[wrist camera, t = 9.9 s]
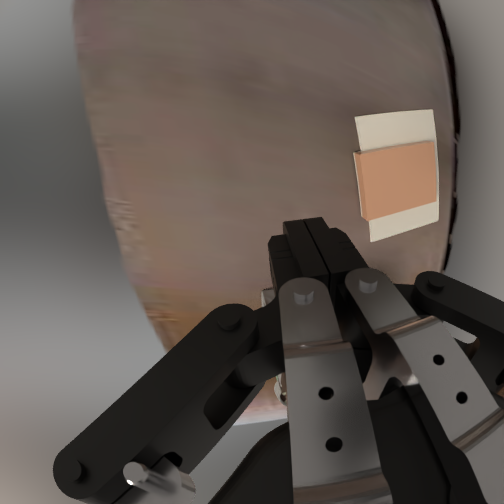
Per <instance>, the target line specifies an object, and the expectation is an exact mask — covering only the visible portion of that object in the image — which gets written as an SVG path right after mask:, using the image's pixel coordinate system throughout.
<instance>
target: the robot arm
mask: <svg viewBox="0 0 504 504" xmlns="http://www.w3.org/2000/svg"><path fill="white" fill-rule="evenodd" d="M268 251H269V261H270V271H271V278H272V283H273V289H274V293H275V298H274V299H273V300H272V301H271V302H270V303H269V304H267V305H266V306H264V307H262V308H259V309H257V310H254V311H253V310H252V309H251V308H249V307H247V306H245V305H242V304H226V305H223V306H220V307H218V308H216V309H214V310H213V311H211V312H210V313H209V314H208V315H207V316H206V317H205V318H204V319H203V320H202V321H201V322H200V323H199V324H198V325H197V326H196V327H194V328H193V329H192V330H191V331H190V332H189V333H188V334H187V335H186V336H185V337H184V338H183V339H182V340H181V341H180V342H179V343H178V344H177V345H175V346H174V347H173V348H172V349H171V350H170V351H169V352H168V353H167V354H166V355H165V356H164V357H163V358H162V359H161V360H160V361H159V362H157V363H156V364H155V365H154V366H153V367H152V368H151V369H150V370H149V371H148V372H147V373H146V374H145V375H144V376H142V377H141V378H140V379H139V380H138V381H137V382H136V383H135V384H134V385H133V386H132V387H131V388H130V389H128V390H127V391H126V392H125V393H124V394H123V395H122V396H121V397H120V398H119V399H118V400H117V401H116V402H114V403H113V404H112V405H111V406H110V407H109V408H108V409H107V410H106V411H105V412H103V413H102V414H101V415H100V416H99V417H98V418H97V419H96V420H95V421H94V422H93V423H91V424H90V425H89V426H88V427H87V428H86V429H85V430H84V431H83V432H81V433H80V434H79V435H78V436H77V437H76V438H75V439H74V440H72V441H71V442H70V444H68V445H67V446H66V447H65V448H64V449H62V450H61V451H60V452H59V453H58V455H57V456H56V458H55V461H54V465H53V475H54V479H55V482H56V484H57V486H58V487H59V489H60V490H61V491H62V492H63V493H64V494H66V495H67V496H69V497H71V498H74V499H76V500H79V501H82V502H85V503H87V504H191V503H192V502H193V500H194V498H195V493H196V489H195V485H194V482H193V480H192V478H191V477H190V476H189V474H190V472H191V471H192V470H193V469H194V468H195V467H196V466H197V465H198V464H199V463H200V462H201V460H203V459H204V457H205V456H206V455H207V454H208V453H209V452H210V451H211V450H212V448H213V447H214V446H215V445H216V444H217V443H218V441H219V440H220V439H221V438H222V437H223V436H224V435H225V433H226V432H227V431H228V430H229V429H230V428H231V426H232V425H233V424H234V423H235V421H236V420H237V419H238V418H239V417H240V415H241V414H242V413H243V412H244V410H245V409H246V408H247V407H248V405H249V404H250V403H251V402H252V400H253V399H254V398H255V396H256V395H257V394H258V393H259V391H260V390H261V389H262V387H263V386H264V384H265V382H266V380H268V379H271V378H273V377H275V376H277V375H279V374H282V373H284V374H285V388H286V402H287V418H288V422H286V423H285V424H282V425H280V426H279V427H277V428H275V429H274V430H272V431H270V432H269V433H267V434H266V435H265V436H264V437H263V438H261V439H260V440H259V441H258V442H257V443H256V444H255V445H254V446H253V447H252V449H251V450H250V451H249V452H248V454H247V455H246V457H245V458H244V459H243V461H242V462H241V463H240V465H239V466H238V467H237V468H236V470H235V471H234V472H233V474H232V475H231V476H230V477H229V479H228V480H227V481H226V482H225V484H224V485H223V486H222V487H221V489H220V490H219V491H218V492H217V493H216V495H215V496H214V497H213V498H212V499H211V500H210V502H209V503H208V504H504V302H503V301H501V300H499V299H497V298H495V297H492V296H490V295H488V294H486V293H484V292H482V291H479V290H477V289H475V288H473V287H471V286H469V285H466V284H464V283H462V282H460V281H457V280H455V279H453V278H450V277H448V276H446V275H443V274H441V273H438V272H434V271H426V272H422V273H420V274H419V275H418V276H417V277H416V280H415V283H414V285H407V284H393V283H392V282H391V281H390V279H389V278H388V277H387V276H386V275H385V274H384V273H382V272H381V271H379V270H376V269H372V268H369V267H368V265H367V264H366V262H365V261H364V259H363V258H362V256H361V255H360V253H359V252H358V250H357V249H355V246H354V244H353V243H352V242H351V240H350V239H349V237H348V236H347V234H346V233H344V232H343V231H341V230H339V229H338V228H329V227H328V226H327V224H326V223H325V221H324V220H323V218H322V217H317V218H309V219H303V220H302V219H301V220H293V221H285V222H283V235H276V236H271V238H270V240H269V242H268ZM443 321H446V322H448V323H450V324H452V325H454V326H456V327H458V328H460V329H463V330H464V331H467V332H469V333H471V334H473V335H475V336H476V337H477V338H476V340H475V341H474V342H473V343H470V344H467V343H464V342H462V341H459V340H458V339H456V338H454V337H452V336H451V334H450V333H449V331H448V330H447V329H446V327H445V326H444V325H443Z"/></svg>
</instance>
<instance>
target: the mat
mask: <svg viewBox="0 0 504 504" xmlns="http://www.w3.org/2000/svg"><path fill="white" fill-rule="evenodd" d="M355 121H356V127H357V132H358V138H359V144H360V150H361V151H364V150H369V149H374V148H380V147H386V146H392V145H398V144H404V143H410V142H417V141H424V140H427V141H431V142H434V150H435V165H436V202H432V203H429V204H425V205H422V206H419V207H415V208H412V209H408V210H405V211H401V212H398V213H394V214H391V215H387V216H384V217H380V218H377V219H373V220H370V221H369V227H370V241H371V242H374V241H377V240H380V239H383V238H387V237H390V236H393V235H396V234H399V233H402V232H405V231H408V230H412V229H415V228H418V227H421V226H424V225H427V224H430V223H433V222H436V221H438V220H439V173H438V154H437V142H436V132H435V123H434V116H433V109H427V110H412V111H400V112H390V113H381V114H372V115H365V116H357V117H355Z"/></svg>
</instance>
